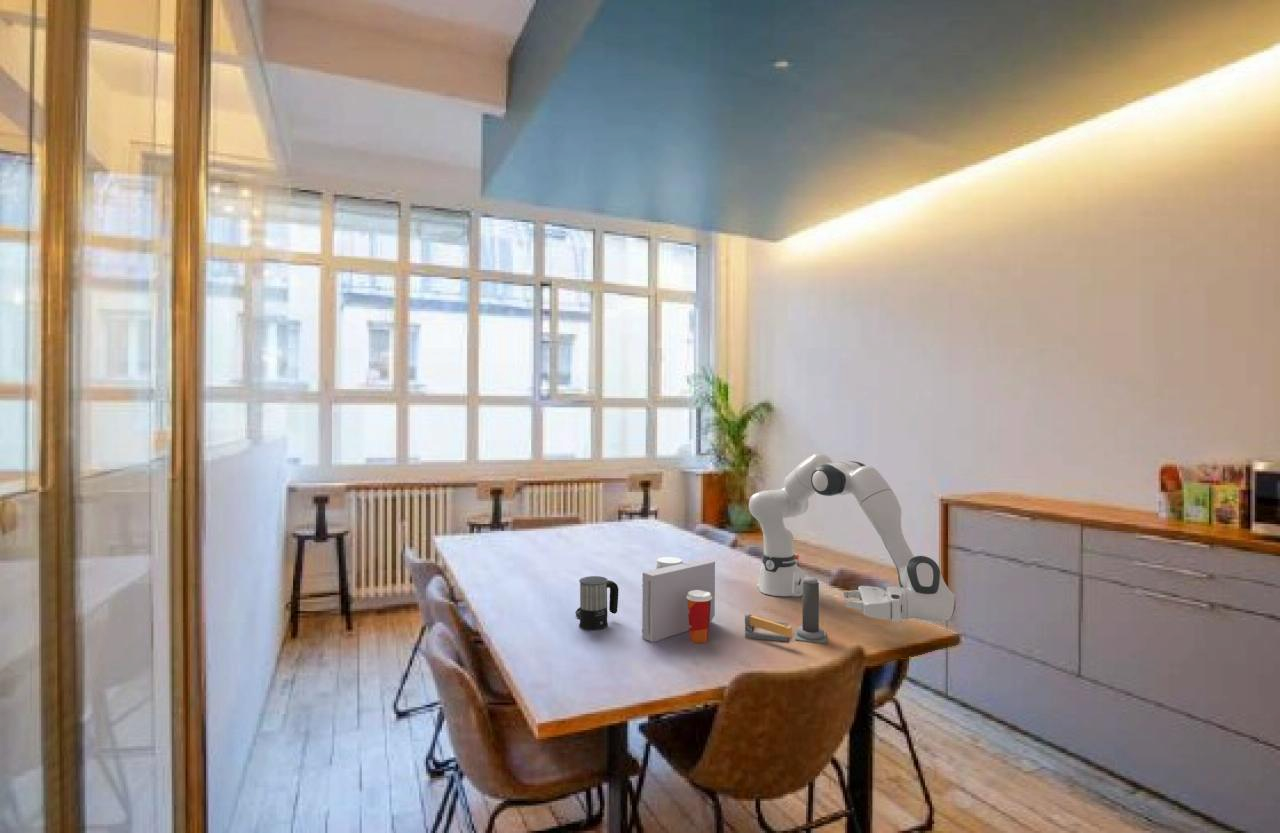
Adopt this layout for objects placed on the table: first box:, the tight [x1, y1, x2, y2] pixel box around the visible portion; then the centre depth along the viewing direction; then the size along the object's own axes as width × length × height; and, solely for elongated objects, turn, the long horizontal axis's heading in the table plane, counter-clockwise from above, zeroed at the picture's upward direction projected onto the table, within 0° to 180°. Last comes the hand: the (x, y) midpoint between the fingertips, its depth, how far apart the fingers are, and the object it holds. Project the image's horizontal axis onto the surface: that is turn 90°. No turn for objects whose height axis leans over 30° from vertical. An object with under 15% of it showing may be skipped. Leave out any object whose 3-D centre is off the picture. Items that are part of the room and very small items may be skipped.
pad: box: [794, 628, 827, 644], centre depth 183 cm, size 9×9×1 cm
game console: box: [641, 558, 716, 643], centre depth 189 cm, size 6×27×20 cm, turn 130°
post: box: [744, 623, 753, 632], centre depth 185 cm, size 2×2×3 cm
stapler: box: [744, 613, 793, 638], centre depth 180 cm, size 16×2×3 cm, turn 44°
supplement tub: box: [655, 556, 683, 569], centre depth 218 cm, size 10×10×15 cm
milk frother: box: [575, 575, 619, 631], centre depth 195 cm, size 14×16×15 cm
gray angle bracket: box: [744, 621, 789, 642], centre depth 187 cm, size 12×12×1 cm
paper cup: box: [686, 590, 712, 644], centre depth 180 cm, size 8×8×14 cm
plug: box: [796, 577, 825, 640], centre depth 183 cm, size 8×8×17 cm
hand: (844, 598), depth 180 cm, fingers open, 8 cm apart
